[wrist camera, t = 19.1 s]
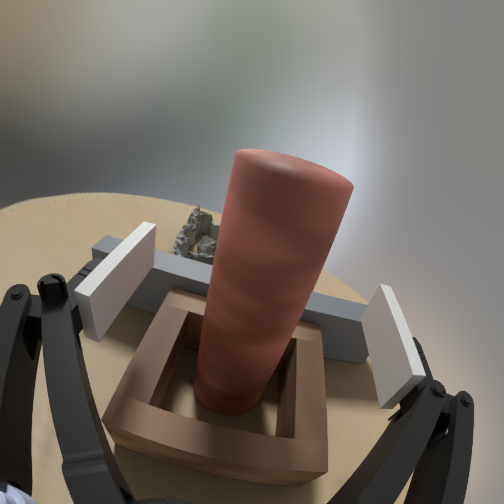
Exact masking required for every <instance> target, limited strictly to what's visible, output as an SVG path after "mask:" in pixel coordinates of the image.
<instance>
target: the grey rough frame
mask: <svg viewBox="0 0 504 504" xmlns="http://www.w3.org/2000/svg"><path fill="white" fill-rule="evenodd" d="M212 220H213V219H212V215H211V214H209V213H207V212H203V211H201V210H200V207H199V206H198V207H196V209H194V211H193V212H192V213H191V215H190V217H189V219H188V221H187V223H186V224H185V225H184V226H183V229H182V230H181V231H180V233H179V234H178V235H177V237H176V240H175V243H174V246H173V249H172V252H174V254H175V255H177V256H180V257H184V258H187V259H191V260H194V261H198V262H202V263H205V264H209V265H213V261H214V256H215V251H216V245H217V240H218V235H219V230H220V225H221V223H215V222H212ZM200 232H203V233H207V234H208V235H204V236H203V237H201V240H200V242H199V244H198V246H197V253H192V252H191V251H189V252H188V250H189V246H191V245H193V244H194V242H195V236H196V234H198V233H200ZM209 237H210V238H209ZM211 238H212V239H211ZM213 239H215V240H213ZM172 252H171V253H172Z"/></svg>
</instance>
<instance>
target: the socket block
mask: <svg viewBox="0 0 504 504" xmlns="http://www.w3.org/2000/svg"><path fill="white" fill-rule="evenodd" d="M206 301H207V297H204V296H200V295H197V294H193V293H190V292H186V291H183V290H179V289H176V288H173V287H172V288H171V289H170V291H169V293H168V295H167V296H166V298H165V300H164V301H163V303H162V305H161V307H160V308H159V310H158V312H157V314H156V316H155V317H154V319H153V321H152V323H151V325H150V326H149V328H148V330H147V332H146V334H145V335H144V337H143V339H142V341H141V343H140V345H139V346H138V348H137V350H136V352H135V354H134V356H133V358H132V360H131V361H130V363H129V365H128V367H127V369H126V371H125V373H124V375H123V377H122V379H121V381H120V383H119V385H118V387H117V389H116V391H115V393H114V395H113V397H112V399H111V401H110V403H109V405H108V407H107V409H106V411H105V413H104V415H103V417H102V419H101V420H102V422H103V424H104V425H105V427H106V429H107V431H108V432H109V434H110V436H111V437H112V439H113V441H114V442H115V443H116V444H119V445H121V446H123V447H126V448H128V449H131V450H133V451H136V452H138V453H141V454H144V455H146V456H149V457H152V458H155V459H158V460H161V461H164V462H167V463H170V464H174V465H177V466H180V467H184V468H188V469H191V470H195V471H199V472H203V473H208V474H212V475H217V476H221V477H227V478H232V479H238V480H244V481H250V482H258V483H266V484H276V485H288V486H302V485H304V484H306V483H308V482H310V481H312V480H314V479H316V478H318V477H320V476H322V475H323V474H325V473H327V472H328V437H327V408H326V389H325V373H324V359H323V347H322V335H321V325H317V324H312V323H308V322H303V321H299V322H298V324H297V326H296V328H295V330H294V332H293V335H292V337H291V339H290V341H289V343H288V345H287V347H286V349H285V351H284V353H283V355H282V357H281V359H280V361H279V363H278V365H277V367H276V369H280V370H281V371H280V386H279V399H278V412H277V424H276V435H275V436H269V435H263V434H257V433H251V432H246V431H241V430H236V429H231V428H227V427H222V426H218V425H214V424H210V423H206V422H202V421H198V420H195V419H191V418H188V417H184V416H181V415H178V414H175V413H171V412H168V411H165V410H162V409H161V406H162V404H163V401H164V398H165V396H166V393H167V391H168V388H169V385H170V383H171V380H172V377H173V375H174V372H175V370H176V367H177V365H178V362H179V359H180V357H181V354H182V352H183V349H184V347H185V346H187V347H191V348H194V349H198V350H199V344H200V337H201V331H202V325H203V319H204V313H205V307H206Z"/></svg>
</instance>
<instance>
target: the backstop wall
mask: <svg viewBox="0 0 504 504" xmlns="http://www.w3.org/2000/svg"><path fill="white" fill-rule="evenodd" d="M122 241H124V240H122V239H118V238H115V237H112V236H108V235H106V236H105V237H104V238H102V239H101V240H100V241H99V242H98V243H97V244H95V245H94V246H93V247H92V257H93V259H95V258H100V259H103V260H104V259H105V258H106V257H107V256H108V255H109V254H110V253H111V252H112V251H113V250H114V249H115V248H116V247H117V246H118V245H119V244H120V243H121V242H122ZM212 267H213V265H209V264H205V263H202V262H198V261H194V260H191V259H187V258H184V257H180V256H177V255H173V254H170V253H166V252H163V251H159V250H156V249H155V252H154V266H153V267H152V269H151V270H150V271H149V273H148V274H147V275H146V277H145V278H144V279H143V281H142V282H141V283H140V285H139V286H138V287H137V289H136V290H135V291H134V293H133V294H132V296H131V297H130V298H129V300H128V301H127V302H126V304H128V305H131V306H134V307H137V308H140V309H142V310H145V311H148V312H151V313H154V314H157V312H158V310H159V308H160V307H161V305H162V303H163V301H164V300H165V298H166V296H167V295H168V293H169V291H170V289H171V288H172V287H173V288H176V289H179V290H183V291H186V292H190V293H193V294H197V295H200V296H204V297H207V295H208V289H209V284H210V278H211V272H212ZM367 306H368V305H365V304H361V303H356V302H352V301H348V300H344V299H340V298H336V297H332V296H328V295H323V294H319V293H315V292H312V293H311V296H310V298H309V300H308V302H307V305H306V307H305V309H304V311H303V313H302V315H301V318H300V320H299V321H303V322H308V323H312V324H317V325H321V335H322V347H323V357H324V358H330V359H335V360H341V361H347V362H354V363H360V364H363V363H364V361H365V360H366V359H367V357H368V356H369V352H368V348H367V344H366V339H365V335H364V331H363V327H362V323H361V319H360V318H361V316H362V315H363V313H364V311H365V310H366V308H367Z"/></svg>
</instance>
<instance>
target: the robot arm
mask: <svg viewBox="0 0 504 504" xmlns="http://www.w3.org/2000/svg"><path fill="white" fill-rule="evenodd" d="M155 234H156V224H152V223H148V222H143V223H142V224H141V225H140V226H139V227H138V228H137V229H135V230H134V231H133V232H132V233H131V234H130V235H129V236H128V237H127V238H126V239H125V240H124V241H122V242H121V243H120V244H119V245H118V246H117V247H116V248H115V249H114V250H113V251H112V252H111V253H110V254H109V255H108V256H107V257H106V258H105V259H104V260H103V259H100V258H95V259H93V260H91V261H89V262H88V263H87V264H86V265H85V266H84V267H83V269H81V270H80V271H79V272H78V274H76V275H75V276H74V277H73V278H72V279H71V280H70V281H69V282H68V283H67V284H66V281H65V278H64V277H63V276H62V275H60V274H48V275H45V276H43V277H42V278H41V279H40V280H39V281H38V284H37V287H38V291H39V294H40V296H39V295H32V294H30V291H29V288H28V287H27V286H26V285H24V284H16V285H14V286H12V287H11V288H9V289H8V291H7V292H6V294H5V296H4V299H3V301H2V304H1V306H0V504H36V502H35V501H34V500H33V499H32V498H31V495H32V455H31V433H32V412H33V399H34V390H35V382H36V374H37V367H38V361H39V356H40V350H41V345H43V358H44V368H45V376H46V384H47V390H48V397H49V402H50V408H51V413H52V418H53V422H54V427H55V431H56V435H57V439H58V443H59V446H60V450H61V453H62V457H63V463H62V472H63V476H64V479H65V482H66V484H67V487H68V490H69V492H70V495H71V497H72V500H73V502H74V504H194V503H190V502H187V501H183V500H179V499H175V498H172V497H169V496H167V499H162V498H152V499H144V500H139V501H136V500H135V498H134V496H133V494H132V492H131V490H130V488H129V487H128V485H127V483H126V481H125V479H124V477H123V476H122V474H121V472H120V470H119V468H118V465H117V463H116V461H115V458H114V456H113V453H112V451H111V448H110V446H109V443H108V440H107V438H106V435H105V432H104V429H103V426H102V424H101V421H100V417H99V414H98V411H97V408H96V405H95V401H94V398H93V394H92V390H91V387H90V383H89V379H88V375H87V371H86V366H85V362H84V357H83V352H82V347H81V342H80V337H79V333H80V331H81V330H82V329H83V330H84V334H85V337H87V338H89V339H92V340H94V341H96V342H98V343H99V342H100V340H101V339H102V337H103V336H104V334H105V333H106V331H107V330H108V328H109V327H110V325H111V324H112V322H113V321H114V320H115V318H116V317H117V315H118V314H119V312H120V311H121V310H122V308H123V307H124V305H125V304H126V302H127V301H128V300H129V298H130V297H131V296H132V294H133V293H134V291H135V290H136V289H137V287H138V286H139V285H140V283H141V282H142V281H143V279H144V278H145V277H146V275H147V274H148V273H149V271H150V270H151V269H152V267H153V266H154V252H155ZM360 319H361V323H362V327H363V331H364V335H365V339H366V344H367V348H368V352H369V357H370V362H371V366H372V371H373V376H374V381H375V386H376V391H377V397H378V403H379V408H380V409H393V408H394V407H395V406H396V405H397V404H398V403H400V409H399V410H398V411H397V412H396V413H395V414H393V415H392V416H391V417H390V418H389V419H388V420H389V421H390V420H391V419H392V420H391V422H390V423H389V425H388V426H387V428H386V429H385V431H384V433H383V434H382V435H381V437H380V438H379V440H378V441H377V443H376V444H375V446H374V447H373V448H372V450H371V451H370V453H369V454H368V455H367V457H366V458H365V459H364V461H363V462H362V463H361V464H360V466H359V467H358V468H357V469H356V471H355V472H354V473H353V474H352V476H351V477H350V478H349V479H348V480H347V482H346V483H345V484H344V485H343V486H342V487H341V489H340V490H339V491H338V492H337V493H336V494H335V495H334V496H333V497H332V498H331V500H330V501H329V502H328V503H327V504H394V502H395V501H396V499H397V498H398V496H399V495H400V493H401V491H402V490H403V488H404V486H405V485H406V483H407V481H408V480H409V478H410V476H411V474H412V473H413V471H414V473H413V476H412V480H411V483H410V486H409V489H408V492H407V495H406V498H405V501H404V503H403V504H463V503H464V499H465V494H466V489H467V483H468V477H469V471H470V463H471V455H472V444H473V428H474V402H473V399H472V397H471V396H470V394H468V393H467V392H465V391H460V392H459V393H458V394H457V395H456V396H452V395H450V394H447V393H446V390H445V388H444V386H443V385H442V384H441V383H440V382H439V381H437V380H433V377H432V374H431V371H430V369H429V366H428V363H427V360H425V359H426V358H425V355H424V354H423V350H422V347H421V345H420V343H419V342H418V341H417V339H416V338H415V337H412V336H411V333H410V331H409V328H408V326H407V323H406V321H405V318H404V316H403V314H402V311H401V309H400V307H399V304H398V302H397V300H396V298H395V295H394V293H393V291H392V289H391V287H390V286H386V285H383V284H380V285H379V287H378V288H377V290H376V292H375V294H374V296H373V297H372V299H371V301H370V303H369V304H368V306H367V308H366V310H365V311H364V313H363V315H362V316H361V318H360ZM447 430H448V433H447V435H446V432H447ZM414 469H415V470H414Z"/></svg>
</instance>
